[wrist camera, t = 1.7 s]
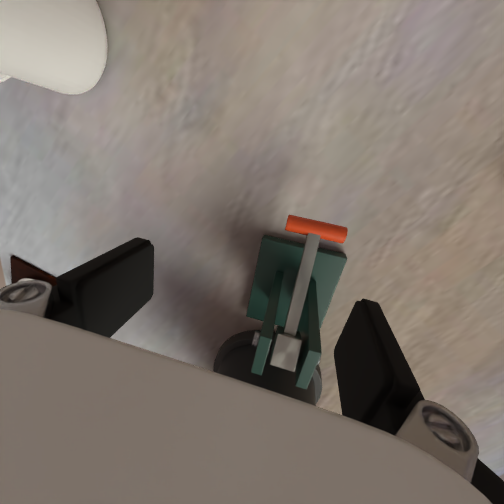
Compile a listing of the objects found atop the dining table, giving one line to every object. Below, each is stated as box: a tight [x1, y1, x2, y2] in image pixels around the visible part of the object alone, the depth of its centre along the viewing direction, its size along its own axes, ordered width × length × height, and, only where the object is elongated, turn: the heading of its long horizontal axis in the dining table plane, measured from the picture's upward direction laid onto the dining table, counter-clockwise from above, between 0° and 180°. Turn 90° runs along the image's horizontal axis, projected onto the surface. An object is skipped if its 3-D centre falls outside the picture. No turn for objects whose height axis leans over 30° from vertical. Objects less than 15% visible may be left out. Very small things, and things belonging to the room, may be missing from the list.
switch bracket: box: [246, 235, 347, 389], centre depth 25 cm, size 12×10×13 cm
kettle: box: [214, 330, 322, 406], centre depth 28 cm, size 20×21×23 cm
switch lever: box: [270, 215, 347, 372], centre depth 21 cm, size 13×5×2 cm, turn 169°
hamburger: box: [11, 256, 57, 287], centre depth 40 cm, size 12×12×6 cm
